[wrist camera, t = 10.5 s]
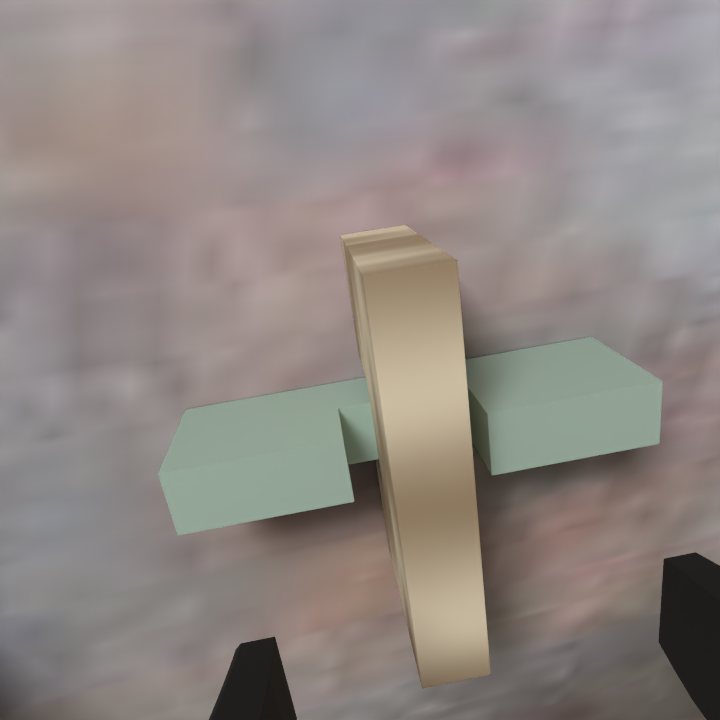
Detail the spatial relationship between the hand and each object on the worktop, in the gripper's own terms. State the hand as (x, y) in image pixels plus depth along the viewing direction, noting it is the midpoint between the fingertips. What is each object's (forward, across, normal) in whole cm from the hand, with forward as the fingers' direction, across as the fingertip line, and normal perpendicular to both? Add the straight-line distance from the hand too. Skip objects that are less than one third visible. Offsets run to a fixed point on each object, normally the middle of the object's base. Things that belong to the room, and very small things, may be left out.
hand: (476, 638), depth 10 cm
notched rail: (+10, 0, 0) cm, 10 cm away
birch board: (+10, 0, 0) cm, 10 cm away
